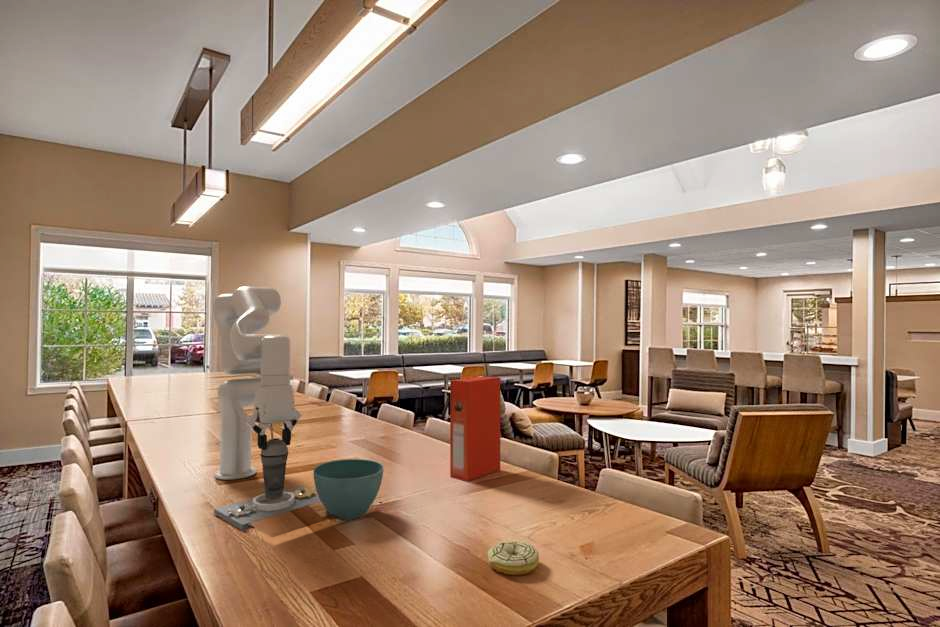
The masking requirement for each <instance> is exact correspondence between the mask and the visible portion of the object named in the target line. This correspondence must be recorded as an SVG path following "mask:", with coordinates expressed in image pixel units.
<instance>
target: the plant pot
mask: <svg viewBox="0 0 940 627" xmlns="http://www.w3.org/2000/svg"><path fill="white" fill-rule="evenodd" d="M383 475H384V465H383V464H382V463H380V462H378V461H375V460H370V459H363V458H362V459H359V458H357V459H355V458H353V459H352V458H351V459H350V458H347V459H338V460H332V461H328V462H324V463H320V464H319V465H317V466H315V467H314V468H313V482H314V487H315V490H316V491H315V492H316V493H317V494H318V496H319V498H320V500H321V502H320V503H321V504H322V506H323V507H324V508H325V510H326V511H327V512H328V513H329V515H333V518H334V519H337V520H341V519H342V520H344V521H346V520H348V519H350V520H354V518H355V519H359V518H361V517H362V516H364V515H365V513H367V511H368V510H369V508H371V506H372V505H373V503H374V501H375V500H376V498H377V496H378V493H379V491H380V489H381V486H382V481H383ZM342 520H341V521H342ZM348 521H349V520H348Z"/></svg>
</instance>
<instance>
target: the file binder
mask: <svg viewBox="0 0 940 627" xmlns="http://www.w3.org/2000/svg"><path fill="white" fill-rule="evenodd" d="M449 387H450V389H449V392H450V396H449V397H450V398H449V399H450V400H449V403H450V404H449V405H450V410H449V412H450V414H449V416H450V420H449V421H450V429H449V430H450V431H449V432H450V439H449V440H450V441H449V443H450V445H449V447H450V450H449V451H450V452H449V453H450V454H449V455H450V457H449V462H450V464H449V465H450V466H449V468H450V473H449V474H450V478H453V479H456V480H461V481H465V482H469V481H473V480H474V479H477V478H481V477H483V476H486V475H488V474H492V473H494V472H498V471H500V470H501V377H498V376H497V377H495V376H485V375H484V376H483V375H482V376H475V377H469V378H461V379H459V378H458V379H452V380H450V386H449Z"/></svg>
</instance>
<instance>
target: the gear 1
mask: <svg viewBox="0 0 940 627" xmlns="http://www.w3.org/2000/svg"><path fill="white" fill-rule="evenodd" d="M227 513H228V516H229V517H230V516H235V518H238V517H240V516H250V514H251V513H256V506H249V505H242V506H234V508H232V509H228V511H227Z"/></svg>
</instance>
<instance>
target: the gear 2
mask: <svg viewBox="0 0 940 627" xmlns="http://www.w3.org/2000/svg"><path fill="white" fill-rule="evenodd" d="M315 490H316V489H308V488H304V489H302V490H295V492H291V493H292V494H294V499H298V500H302V499H305V498H307V499H309V498H311V497H312V496H315V495H316V493H317V491H315Z"/></svg>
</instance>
